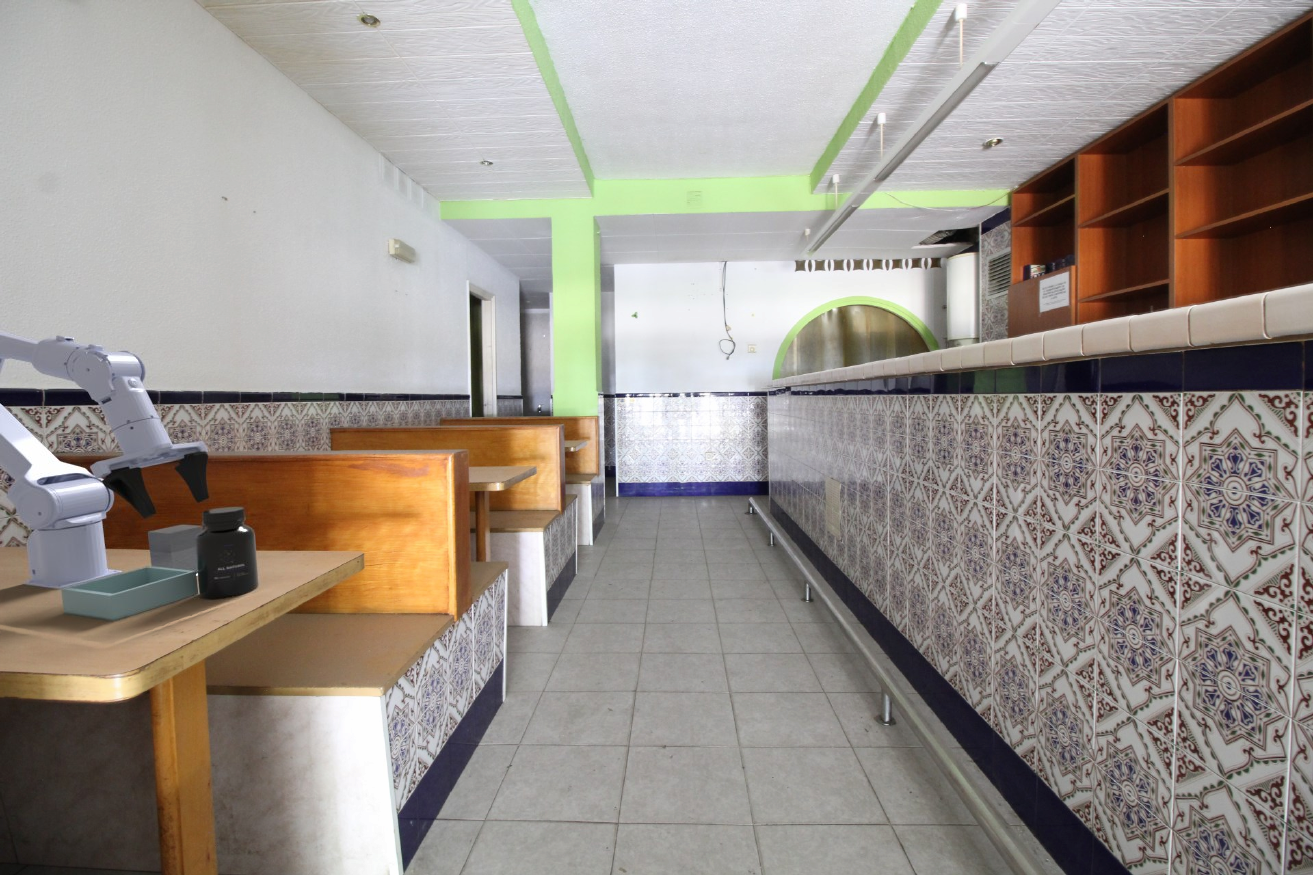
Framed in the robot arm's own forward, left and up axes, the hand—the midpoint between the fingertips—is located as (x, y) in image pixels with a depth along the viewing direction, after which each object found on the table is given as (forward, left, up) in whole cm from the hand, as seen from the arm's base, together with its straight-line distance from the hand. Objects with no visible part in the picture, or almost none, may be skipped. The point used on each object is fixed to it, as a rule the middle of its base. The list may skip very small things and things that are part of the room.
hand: (178, 508), depth 90 cm
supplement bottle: (+14, -3, -11) cm, 18 cm away
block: (-2, +1, -11) cm, 11 cm away
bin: (+5, -10, -11) cm, 16 cm away
